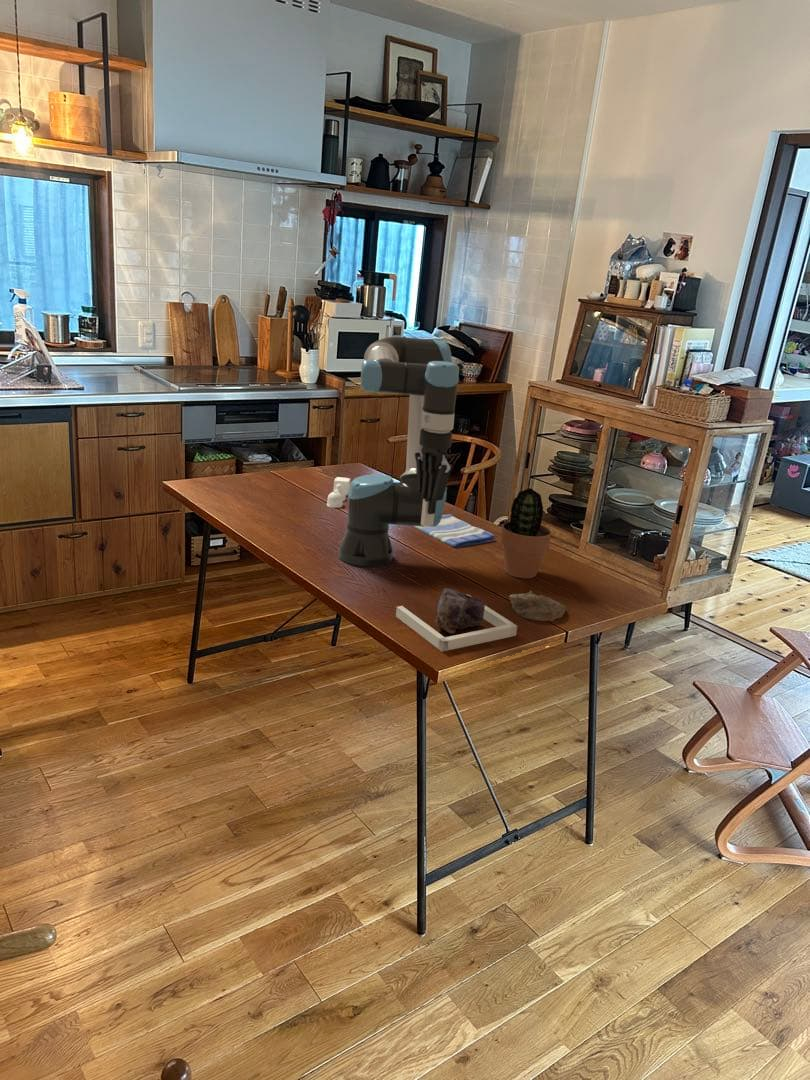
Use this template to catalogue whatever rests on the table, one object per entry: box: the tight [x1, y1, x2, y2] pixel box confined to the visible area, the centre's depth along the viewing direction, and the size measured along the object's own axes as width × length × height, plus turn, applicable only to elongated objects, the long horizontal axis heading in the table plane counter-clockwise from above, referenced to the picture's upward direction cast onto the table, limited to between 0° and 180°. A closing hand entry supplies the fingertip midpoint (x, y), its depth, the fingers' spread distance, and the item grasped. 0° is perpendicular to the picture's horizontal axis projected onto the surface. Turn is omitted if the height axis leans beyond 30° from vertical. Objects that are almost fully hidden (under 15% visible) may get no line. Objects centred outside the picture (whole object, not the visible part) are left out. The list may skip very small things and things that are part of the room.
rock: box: [434, 587, 486, 634], centre depth 191 cm, size 12×9×10 cm
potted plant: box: [500, 487, 553, 579], centre depth 225 cm, size 14×14×25 cm
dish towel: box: [412, 513, 496, 549], centre depth 257 cm, size 17×24×3 cm
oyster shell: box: [509, 590, 567, 622], centre depth 204 cm, size 11×15×6 cm
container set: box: [326, 476, 351, 509], centre depth 280 cm, size 20×5×6 cm, turn 175°
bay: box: [395, 594, 518, 653], centre depth 192 cm, size 20×21×2 cm
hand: (426, 524), depth 198 cm, fingers closed
